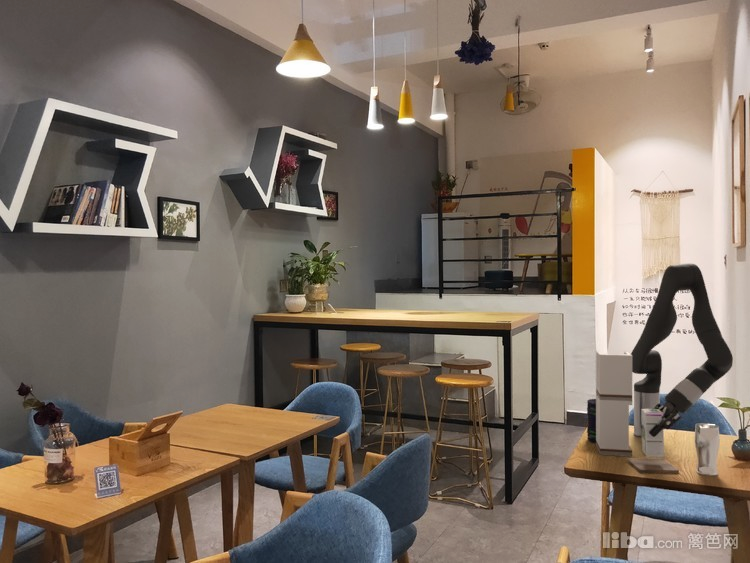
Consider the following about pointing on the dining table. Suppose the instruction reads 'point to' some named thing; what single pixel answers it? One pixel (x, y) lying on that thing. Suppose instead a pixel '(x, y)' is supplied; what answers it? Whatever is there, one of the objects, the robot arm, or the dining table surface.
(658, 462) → the walnut board
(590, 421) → the storage jar
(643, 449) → the syrup box
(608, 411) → the white stacked pillar
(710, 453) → the beer glass
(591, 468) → the dining table surface
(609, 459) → the dining table surface
